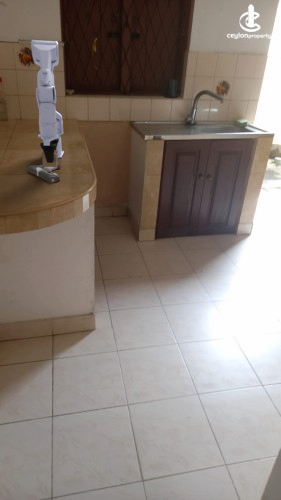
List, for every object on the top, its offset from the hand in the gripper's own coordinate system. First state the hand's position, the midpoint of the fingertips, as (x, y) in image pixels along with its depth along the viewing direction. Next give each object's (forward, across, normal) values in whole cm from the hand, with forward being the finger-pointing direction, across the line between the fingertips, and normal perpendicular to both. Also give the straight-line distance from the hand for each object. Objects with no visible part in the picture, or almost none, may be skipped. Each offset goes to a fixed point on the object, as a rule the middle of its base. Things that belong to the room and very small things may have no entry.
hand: (51, 160), depth 133 cm
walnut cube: (+2, 0, 0) cm, 2 cm away
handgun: (+6, +1, 0) cm, 6 cm away
